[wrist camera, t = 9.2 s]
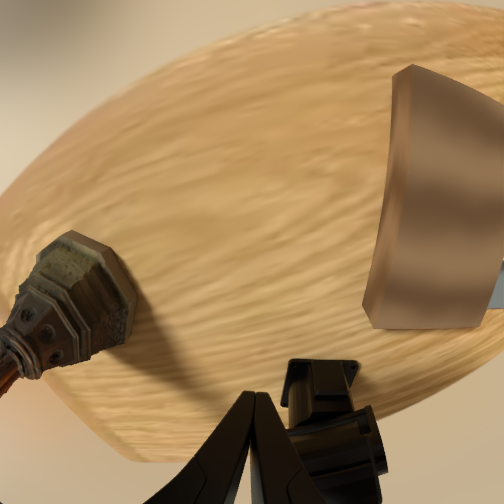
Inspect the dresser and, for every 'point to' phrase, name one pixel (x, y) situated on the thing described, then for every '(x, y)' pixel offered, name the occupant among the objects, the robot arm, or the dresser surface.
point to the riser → (438, 206)
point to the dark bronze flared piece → (66, 309)
